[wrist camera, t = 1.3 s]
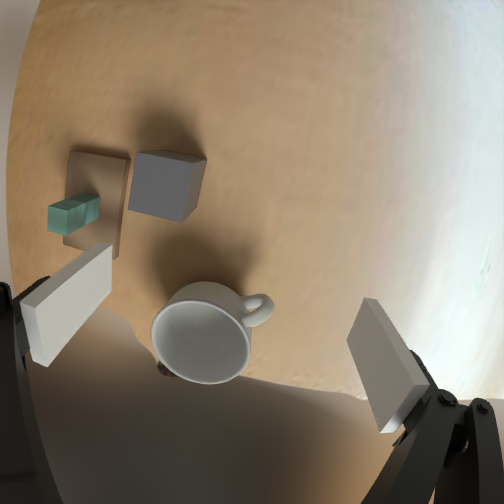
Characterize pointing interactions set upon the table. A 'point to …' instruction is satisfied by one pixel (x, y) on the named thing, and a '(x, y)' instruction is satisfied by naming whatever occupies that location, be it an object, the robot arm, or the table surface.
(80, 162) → the stand
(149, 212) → the grey upright block
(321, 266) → the table surface
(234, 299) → the teacup
